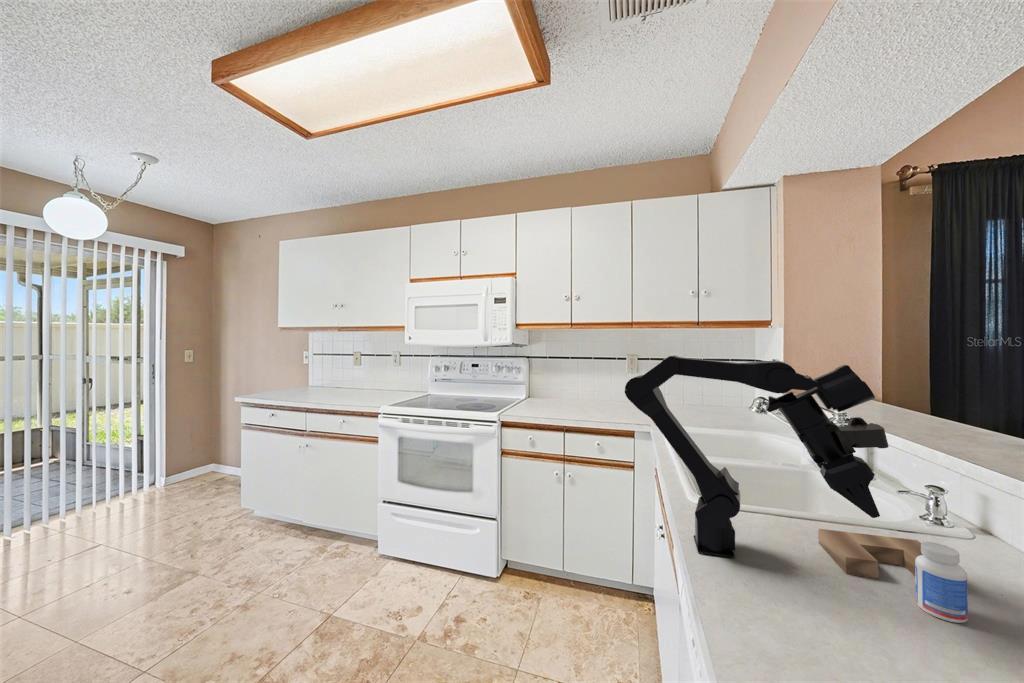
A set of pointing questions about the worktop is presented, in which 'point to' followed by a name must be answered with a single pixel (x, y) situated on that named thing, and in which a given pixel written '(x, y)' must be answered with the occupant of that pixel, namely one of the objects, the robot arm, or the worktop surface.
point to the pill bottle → (941, 583)
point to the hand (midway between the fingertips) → (868, 506)
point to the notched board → (868, 551)
